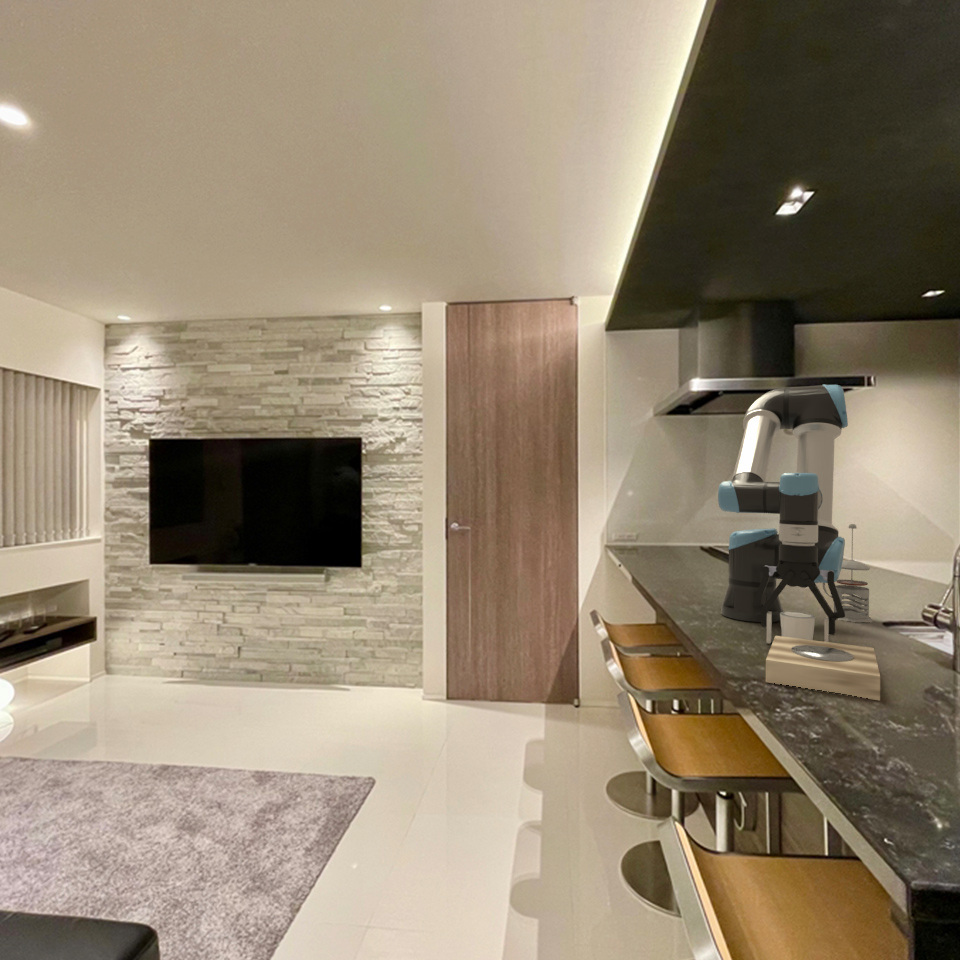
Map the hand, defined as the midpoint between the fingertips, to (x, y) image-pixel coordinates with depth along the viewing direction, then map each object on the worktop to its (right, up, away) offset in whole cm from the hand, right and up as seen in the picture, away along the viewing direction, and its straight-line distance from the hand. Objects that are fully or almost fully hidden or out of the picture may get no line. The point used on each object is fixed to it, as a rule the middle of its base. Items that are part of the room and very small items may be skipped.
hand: (797, 645), depth 132 cm
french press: (+28, -1, +29) cm, 40 cm away
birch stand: (-6, 0, -20) cm, 21 cm away
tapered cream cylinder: (0, 0, 0) cm, 0 cm away
